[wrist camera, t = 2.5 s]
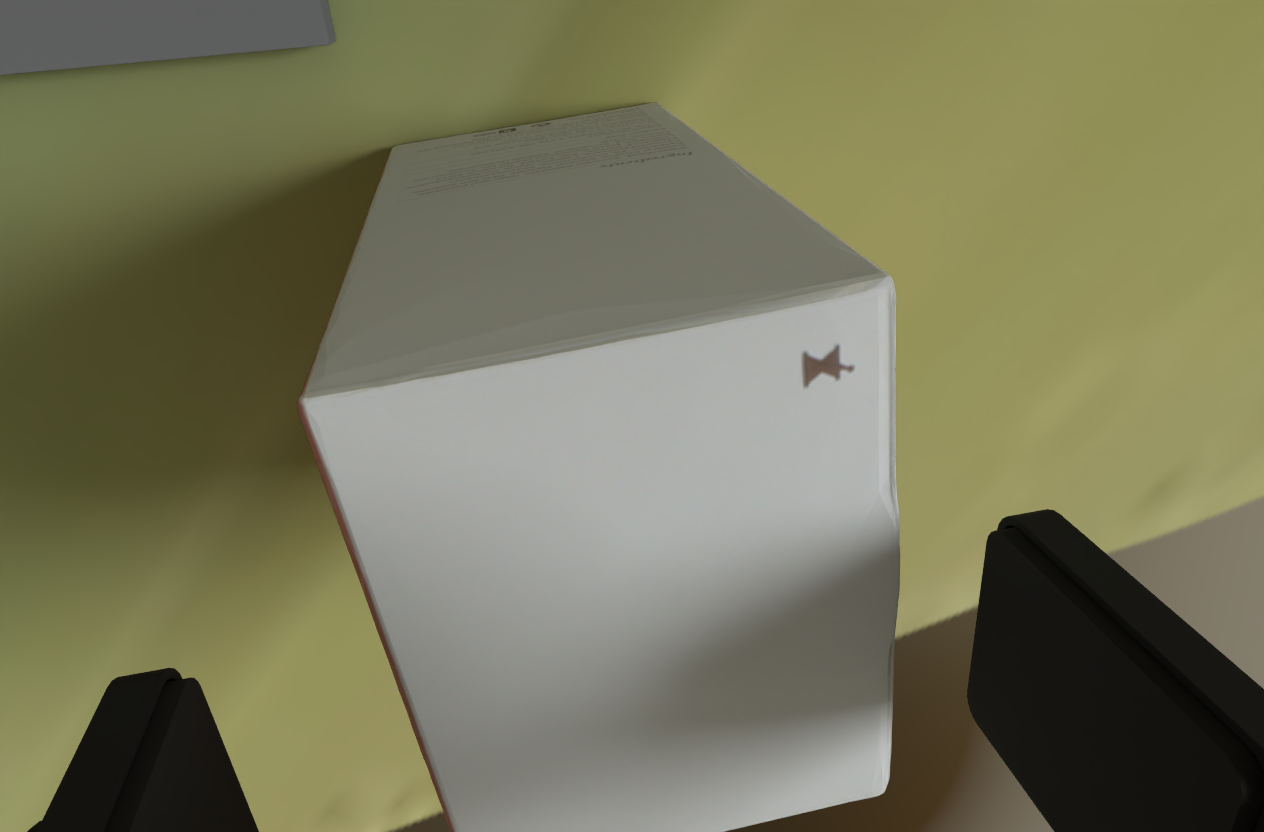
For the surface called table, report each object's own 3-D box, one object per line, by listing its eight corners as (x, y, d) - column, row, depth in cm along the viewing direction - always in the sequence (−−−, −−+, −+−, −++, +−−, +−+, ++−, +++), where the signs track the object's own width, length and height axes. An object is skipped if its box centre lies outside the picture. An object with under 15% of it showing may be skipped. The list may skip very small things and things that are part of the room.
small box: (386, 142, 20) (277, 387, 8) (660, 96, 20) (917, 265, 9) (466, 449, 23) (468, 907, 12) (695, 403, 24) (905, 799, 13)
